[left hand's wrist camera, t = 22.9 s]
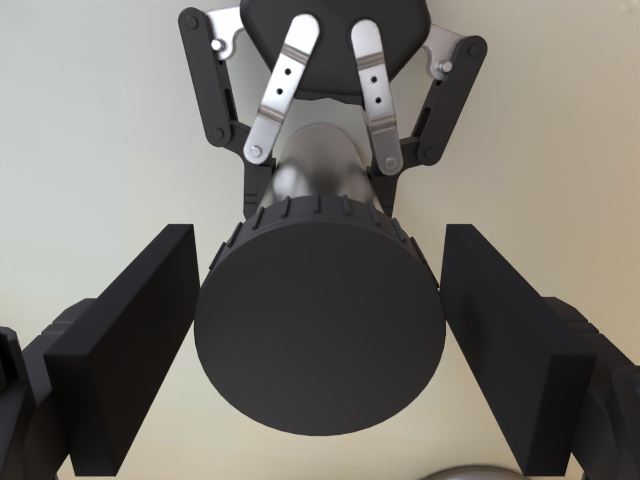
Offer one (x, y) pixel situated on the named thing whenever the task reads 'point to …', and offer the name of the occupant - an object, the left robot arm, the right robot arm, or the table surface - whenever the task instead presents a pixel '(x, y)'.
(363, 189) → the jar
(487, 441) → the table surface
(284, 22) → the right robot arm
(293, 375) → the lid
